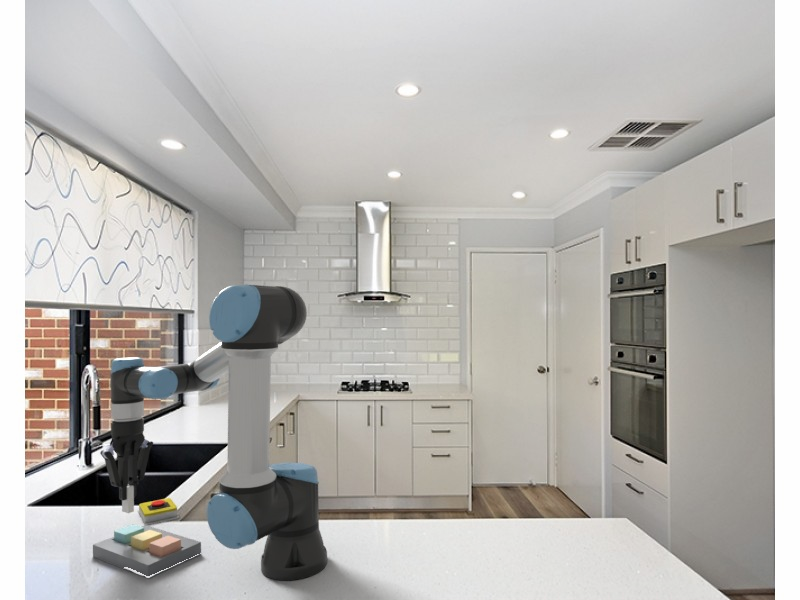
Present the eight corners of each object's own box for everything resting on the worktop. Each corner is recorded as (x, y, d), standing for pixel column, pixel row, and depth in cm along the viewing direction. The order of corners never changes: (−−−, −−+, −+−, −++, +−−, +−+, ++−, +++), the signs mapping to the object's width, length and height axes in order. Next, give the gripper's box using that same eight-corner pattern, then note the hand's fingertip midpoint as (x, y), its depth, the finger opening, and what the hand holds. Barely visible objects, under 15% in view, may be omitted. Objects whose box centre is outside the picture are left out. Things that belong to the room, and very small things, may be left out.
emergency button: (144, 511, 152) (136, 497, 164) (144, 527, 152) (137, 512, 164) (179, 504, 157) (169, 491, 170) (179, 519, 157) (169, 505, 169)
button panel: (201, 554, 132) (200, 542, 132) (148, 578, 120) (147, 565, 120) (145, 536, 144) (145, 525, 144) (92, 556, 132) (92, 544, 132)
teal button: (144, 539, 137) (144, 527, 137) (125, 547, 133) (125, 534, 133) (133, 535, 140) (132, 524, 140) (114, 543, 135) (114, 531, 136)
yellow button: (162, 545, 133) (162, 533, 133) (143, 553, 129) (143, 540, 129) (150, 541, 136) (150, 529, 136) (131, 549, 131) (131, 536, 132)
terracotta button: (181, 552, 129) (180, 539, 129) (162, 560, 125) (161, 547, 125) (168, 547, 132) (168, 535, 132) (149, 555, 127) (149, 542, 127)
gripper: (142, 412, 145) (143, 500, 144) (93, 421, 134) (94, 517, 133) (159, 415, 141) (160, 506, 140) (110, 424, 130) (110, 523, 129)
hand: (127, 511), depth 137 cm, fingers closed
